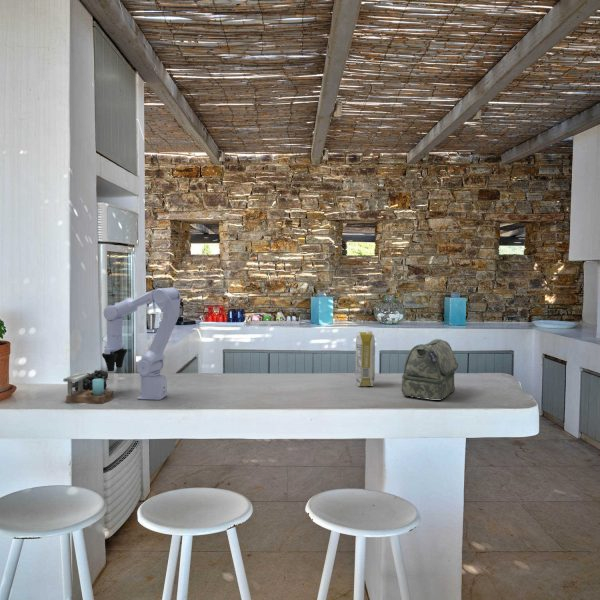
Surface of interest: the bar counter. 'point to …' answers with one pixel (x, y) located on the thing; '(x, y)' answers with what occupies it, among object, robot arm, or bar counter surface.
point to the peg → (98, 386)
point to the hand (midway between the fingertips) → (115, 369)
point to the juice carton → (365, 358)
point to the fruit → (88, 380)
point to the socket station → (85, 392)
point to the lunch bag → (429, 370)
